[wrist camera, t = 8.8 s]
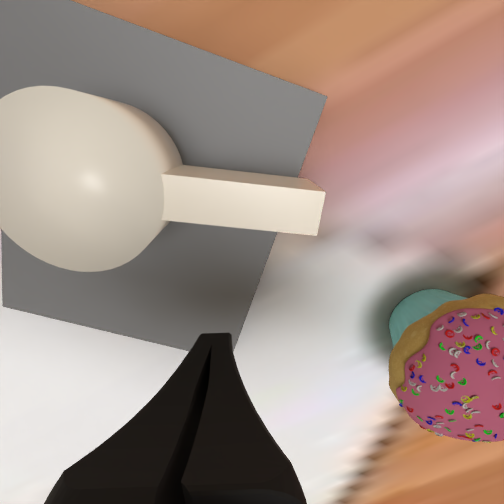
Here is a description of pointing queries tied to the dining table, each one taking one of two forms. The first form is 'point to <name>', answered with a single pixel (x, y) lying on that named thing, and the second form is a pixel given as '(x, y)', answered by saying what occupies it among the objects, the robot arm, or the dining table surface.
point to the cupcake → (450, 363)
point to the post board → (192, 153)
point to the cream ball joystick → (121, 182)
